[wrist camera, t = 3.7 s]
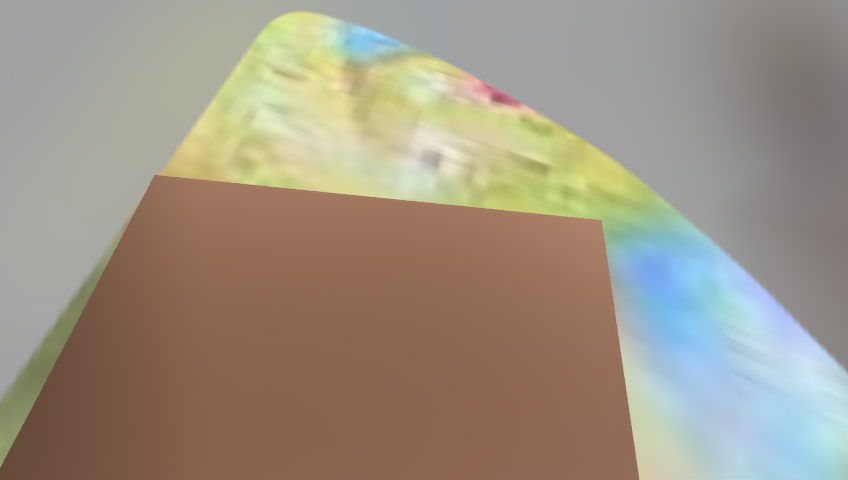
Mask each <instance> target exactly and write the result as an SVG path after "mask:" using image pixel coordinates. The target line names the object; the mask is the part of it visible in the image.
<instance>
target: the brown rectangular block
mask: <svg viewBox="0 0 848 480" xmlns="http://www.w3.org/2000/svg"><path fill="white" fill-rule="evenodd" d="M0 480H639V475H638V468H637V461H636V454H635V448H634V441H633V434H632V427H631V420H630V413H629V406H628V399H627V392H626V386H625V379H624V372H623V365H622V358H621V351H620V344H619V337H618V331H617V324H616V317H615V310H614V303H613V296H612V289H611V282H610V276H609V269H608V262H607V255H606V248H605V241H604V234H603V227H602V220H593V219H583V218H573V217H563V216H554V215H544V214H534V213H524V212H514V211H504V210H494V209H485V208H475V207H465V206H455V205H445V204H435V203H425V202H416V201H406V200H396V199H386V198H376V197H366V196H356V195H347V194H337V193H327V192H317V191H307V190H297V189H287V188H278V187H268V186H258V185H248V184H238V183H228V182H218V181H209V180H199V179H189V178H179V177H169V176H159V175H155V176H154V178H153V179H152V181H151V183H150V185H149V187H148V189H147V191H146V193H145V195H144V197H143V198H142V200H141V202H140V204H139V206H138V208H137V210H136V212H135V214H134V215H133V217H132V219H131V221H130V223H129V225H128V227H127V229H126V231H125V233H124V234H123V236H122V238H121V240H120V242H119V244H118V246H117V248H116V250H115V252H114V253H113V255H112V257H111V259H110V261H109V263H108V265H107V267H106V269H105V271H104V272H103V274H102V276H101V278H100V280H99V282H98V284H97V286H96V288H95V290H94V291H93V293H92V295H91V297H90V299H89V301H88V303H87V305H86V307H85V308H84V310H83V312H82V314H81V316H80V318H79V320H78V322H77V324H76V326H75V327H74V329H73V331H72V333H71V335H70V337H69V339H68V341H67V343H66V345H65V346H64V348H63V350H62V352H61V354H60V356H59V358H58V360H57V362H56V364H55V365H54V367H53V369H52V371H51V373H50V375H49V377H48V379H47V381H46V383H45V384H44V386H43V388H42V390H41V392H40V394H39V396H38V398H37V400H36V401H35V403H34V405H33V407H32V409H31V411H30V413H29V415H28V417H27V419H26V420H25V422H24V424H23V426H22V428H21V430H20V432H19V434H18V436H17V438H16V439H15V441H14V443H13V445H12V447H11V449H10V451H9V453H8V455H7V457H6V458H5V460H4V462H3V464H2V466H1V468H0Z"/></svg>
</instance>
